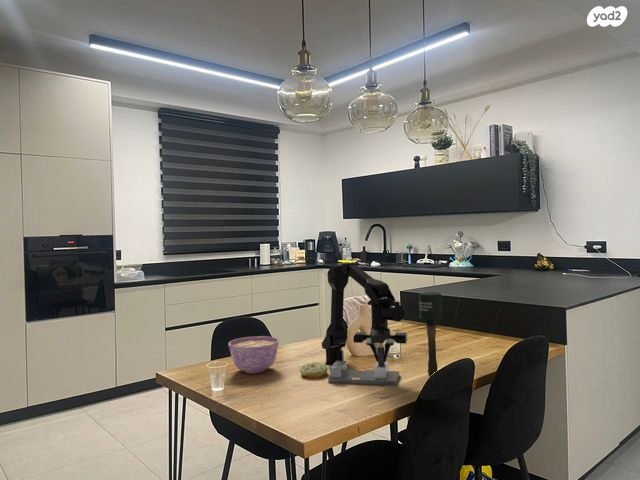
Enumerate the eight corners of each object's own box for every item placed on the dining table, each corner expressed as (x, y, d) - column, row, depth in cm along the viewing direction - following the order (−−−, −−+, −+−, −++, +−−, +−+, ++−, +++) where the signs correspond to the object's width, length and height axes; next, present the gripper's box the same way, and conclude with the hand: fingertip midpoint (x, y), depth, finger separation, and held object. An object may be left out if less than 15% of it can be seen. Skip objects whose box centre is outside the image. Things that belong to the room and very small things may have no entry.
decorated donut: (300, 380, 174) (300, 370, 174) (299, 371, 185) (299, 362, 185) (328, 378, 175) (328, 368, 175) (326, 370, 186) (325, 360, 186)
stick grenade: (418, 372, 177) (415, 292, 177) (440, 371, 178) (437, 291, 178) (425, 379, 169) (421, 295, 168) (448, 377, 169) (445, 294, 169)
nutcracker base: (328, 382, 169) (327, 368, 169) (336, 372, 181) (335, 359, 181) (395, 385, 163) (395, 371, 163) (399, 375, 174) (398, 361, 174)
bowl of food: (219, 376, 183) (218, 346, 182) (245, 362, 201) (244, 335, 201) (266, 379, 176) (264, 348, 176) (288, 365, 195) (287, 337, 194)
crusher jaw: (374, 378, 167) (373, 350, 167) (377, 371, 175) (376, 344, 174) (385, 378, 166) (384, 350, 166) (388, 372, 173) (387, 345, 173)
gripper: (349, 322, 165) (351, 366, 165) (403, 322, 160) (405, 368, 160) (355, 316, 175) (357, 358, 176) (406, 316, 171) (408, 359, 171)
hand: (381, 361), depth 170 cm, fingers closed on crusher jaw, 2 cm apart
